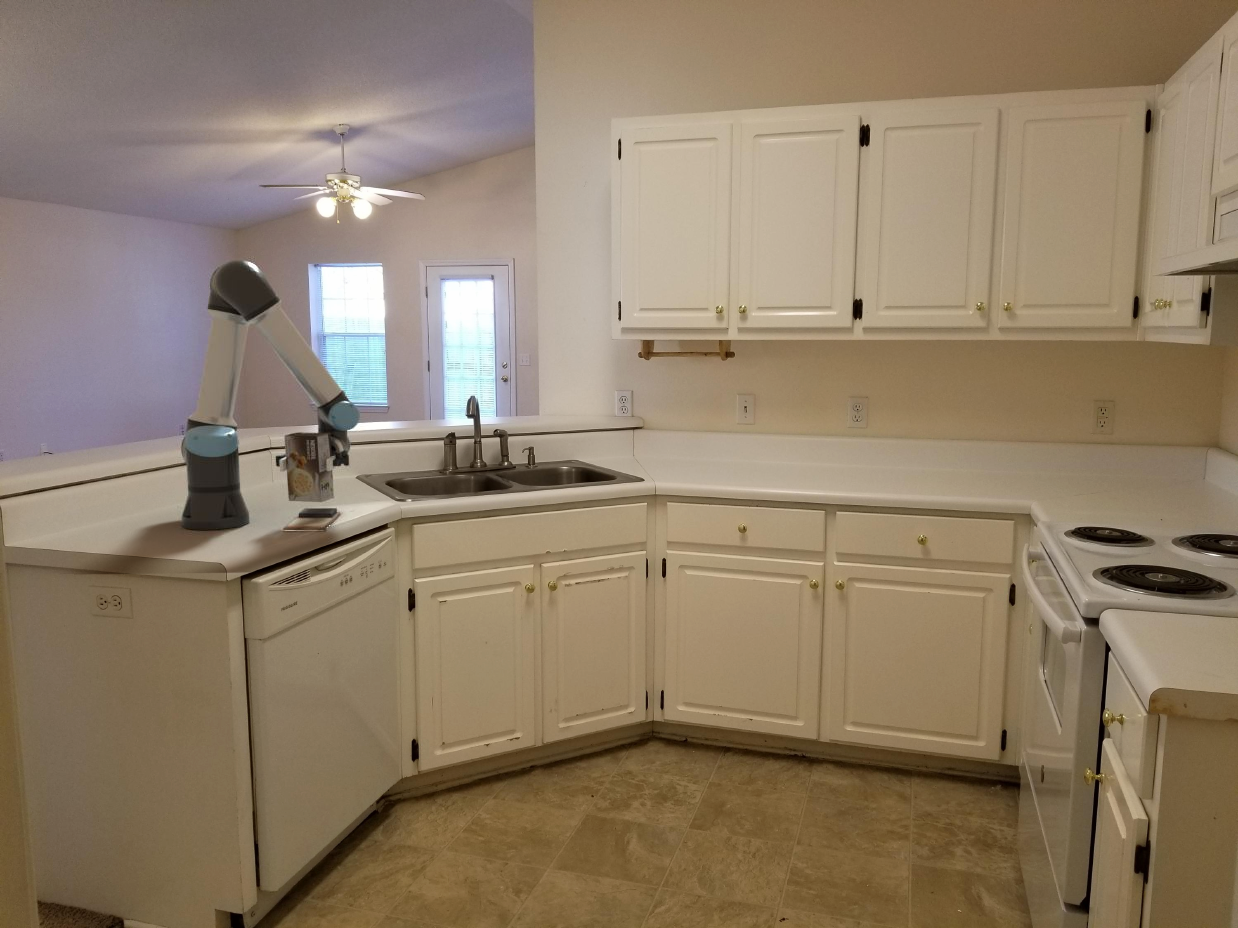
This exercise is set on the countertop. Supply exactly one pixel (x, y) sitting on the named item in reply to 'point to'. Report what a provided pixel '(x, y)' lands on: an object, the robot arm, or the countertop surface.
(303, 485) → the grey cardboard box
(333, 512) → the stamp station
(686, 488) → the countertop surface
